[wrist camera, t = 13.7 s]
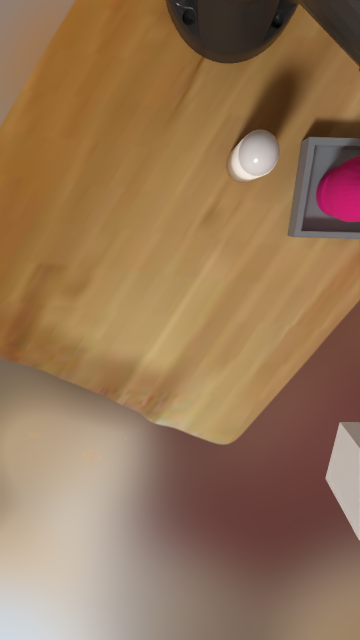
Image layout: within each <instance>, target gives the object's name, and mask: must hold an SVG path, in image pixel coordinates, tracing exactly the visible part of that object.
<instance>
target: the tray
mask: <svg viewBox="0 0 360 640" xmlns="http://www.w3.org/2000/svg"><path fill="white" fill-rule="evenodd" d="M358 156H360V138H330V137H309V138H307V139H305V140H303V141H302V143H301V150H300V156H299V163H298V170H297V176H296V183H295V190H294V197H293V203H292V210H291V217H290V223H289V230H288V236H292V237H308V238H344V239H360V221H359V222H346V221H342V220H339V219H337V218H336V217H331V216H328V215H326V214H325V213H323V212H322V211H321V210H320V208H319V207H318V204H317V201H316V191H317V187H318V184H319V182H320V180H321V179H322V177H323V176H324V175H325V174H326V173H327V172H328V171H330V170H331V169H333V168H335V167H338V166H340V165H341V164H343V163H344V162H346V161H347V160H350V159H352V158H355V157H358Z"/></svg>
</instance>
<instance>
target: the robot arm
mask: <svg viewBox="0 0 360 640" xmlns="http://www.w3.org/2000/svg"><path fill="white" fill-rule="evenodd" d="M166 4H167V7H168V11H169V14H170V16H171V19H172V21H173V23H174V25H175V27H176V29H177V31H178V32H179V34H180V35H181V37H182V38H183V40H184V41H185V42H186V43H187V44H188V45H189V46H190V47H191V48H192V49H193V50H194V51H196V52H197V53H198V54H200V55H201V56H203V57H205V58H207V59H209V60H212V61H216V62H220V63H238V62H242V61H246V60H248V59H251V58H253V57H255V56H257V55H259V54H260V53H262V52H263V51H265V50H266V49H267V48H268V47H269V46H270V45H272V44H273V43H274V41H275V40H276V39H277V38H278V37H279V36H280V34H281V33H282V32H283V30H284V29H285V27H286V25H287V24H288V22H289V20H290V19H291V17H292V15H293V14H294V12H295V10H296V8H297V6H298V4H300V5H301V6H302V7H303V8H304V9H305V10H306V11H307V12H308V13H309V14H310V15H311V16H312V17H313V18H314V19H315V20H316V21H317V22H318V24H319V25H320V26H321V27H322V28H323V29H324V30H325V31H326V32H327V33H328V34H329V35H330V36H331V37H332V38H333V39H334V40H335V41H336V43H337V44H338V45H339V46H340V47H341V48H342V49H343V50H344V51H345V52H346V53H347V54H348V55H349V56H350V57H351V58H352V59H353V60H354V61H355V63H356V64H357V65H358V66H359V67H360V0H166ZM359 71H360V68H359ZM326 480H327V482H328V484H329V486H330V487H331V489H332V491H333V493H334V495H335V496H336V498H337V500H338V502H339V504H340V506H341V508H342V509H343V511H344V513H345V515H346V517H347V519H348V520H349V522H350V524H351V526H352V528H353V530H354V531H355V533H356V535H357V537H358V539H359V540H360V422H340V424H339V428H338V432H337V436H336V440H335V444H334V448H333V452H332V456H331V460H330V464H329V467H328V471H327V475H326Z"/></svg>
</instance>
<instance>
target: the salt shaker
mask: <svg viewBox="0 0 360 640" xmlns="http://www.w3.org/2000/svg"><path fill="white" fill-rule="evenodd" d="M278 158H279V144H278V141H277V139H276V138H275V136H274V135H273V134H271V133H270V132H268V131H266V130H255V131H252V132H250V133H249V134H247V135H246V136H245V137H244V138H243V139H242V140H241V141H240V142H239V144H238V145H237V146H236V147H235V148H234V149H233V150H232V151H231V152H230V154H229V156H228V158H227V162H226V168H227V172H228V174H229V176H230V177H231V178H232V179H233V180H234V181H236V182H240V183H244V182H248V181H250V180H253V179H256V178H258V177H261V176H264V175H266V174H268V173H269V172H270V171H271V170H272V169H273V168H274V167H275V165H276V163H277V161H278Z"/></svg>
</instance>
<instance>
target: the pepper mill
mask: <svg viewBox="0 0 360 640" xmlns="http://www.w3.org/2000/svg"><path fill="white" fill-rule="evenodd" d="M316 201H317V204H318V207H319V208H320V210H321V211H322V212H323V213H325V214H326V215H328V216H331V217H336V218H337V219H339V220H342V221H346V222H359V221H360V156H358V157H355V158H352V159H350V160H347V161H346V162H344V163H343V164H341V165H340V166H338V167H335V168H333V169H331V170H330V171H328V172H327V173H326V174H325V175H324V176H323V177H322V179H321V180H320V182H319V184H318V187H317V191H316Z"/></svg>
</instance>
